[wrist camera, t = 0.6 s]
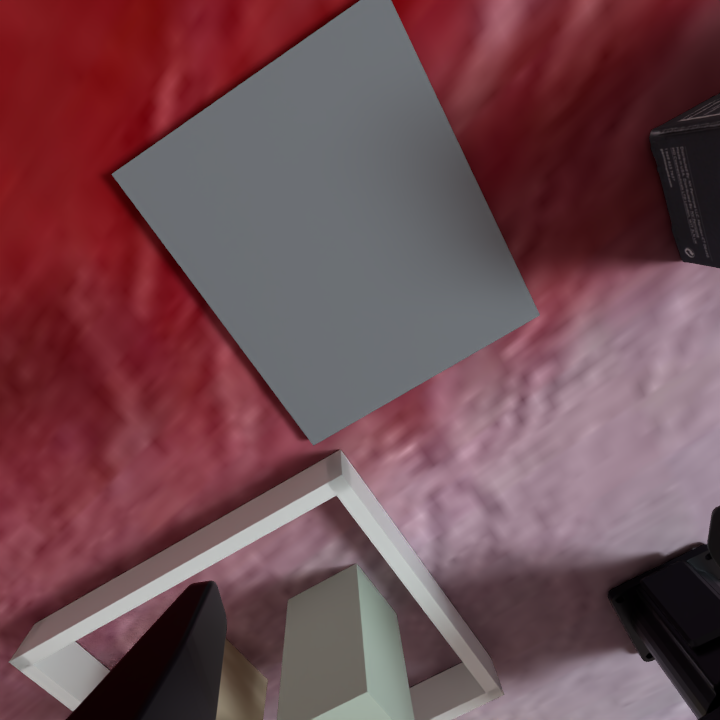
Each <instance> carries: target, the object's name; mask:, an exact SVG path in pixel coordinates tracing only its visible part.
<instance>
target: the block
mask: <svg viewBox="0 0 720 720" xmlns="http://www.w3.org/2000/svg"><path fill="white" fill-rule="evenodd" d="M277 720H415V719H414V713H413V707H412V701H411V696H410V690H409V684H408V678H407V672H406V666H405V660H404V655H403V649H402V643H401V637H400V631H399V625H398V619H397V614H396V613H395V611H394V610H393V609H392V608H391V606H390V605H389V604H388V603H387V601H386V600H385V599H384V598H383V596H382V595H381V594H380V592H379V591H378V590H377V589H376V587H375V586H374V585H373V584H372V582H371V581H370V580H369V579H368V577H367V576H366V575H365V573H364V572H363V571H362V570H361V568H360V567H359V566H358V565H357V563H356V564H354V565H352V566H350V567H349V568H347V569H345V570H343V571H341V572H339V573H337V574H335V575H334V576H332V577H330V578H328V579H326V580H324V581H322V582H320V583H319V584H317V585H315V586H313V587H311V588H309V589H307V590H305V591H304V592H302V593H300V594H298V595H296V596H294V597H292V598H291V599H289V600H288V605H287V615H286V626H285V637H284V648H283V659H282V670H281V680H280V691H279V702H278V713H277Z"/></svg>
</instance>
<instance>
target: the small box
mask: <svg viewBox="0 0 720 720" xmlns="http://www.w3.org/2000/svg"><path fill="white" fill-rule="evenodd" d="M649 139H650V143H651V150H652V152H653V156H654V157H655V160H656V163H657V171H658V172H659V175H660V179H661V183H662V187H663V191H664V194H665V199H666V202H667V207H668V211H669V215H670V219H671V222H672V232H673V235H674V237H675V240H676V244H677V247H678V249H679V253H680V256H681V259H682V261H683V262H689V263H695V264H700V265H706V266H711V267H716V268H720V93H719V94H717V95H716V96H713V97H711V98H710V99H708V100H706V101H704V102H703V103H701V104H699V105H697V106H695V107H694V108H692V109H690V110H688V111H686V112H684V113H683V114H681V115H679V116H678V117H676V118H674V119H672V120H670V121H668V122H666V123H665V124H663V125H661V126H659V127H657V128H654V129H653V130H652V131H651V133H650V137H649Z"/></svg>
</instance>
